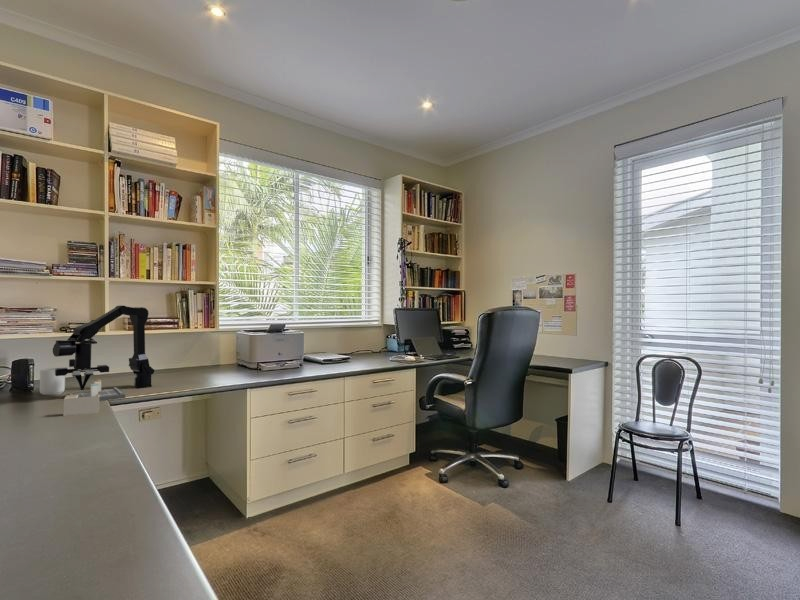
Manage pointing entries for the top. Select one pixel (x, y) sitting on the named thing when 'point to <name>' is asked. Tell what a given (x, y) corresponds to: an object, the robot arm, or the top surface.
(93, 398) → the model
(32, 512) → the top surface
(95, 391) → the fader teal
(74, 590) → the top surface
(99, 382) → the grey rectangular block
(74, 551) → the top surface
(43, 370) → the mug
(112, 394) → the console
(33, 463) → the top surface
